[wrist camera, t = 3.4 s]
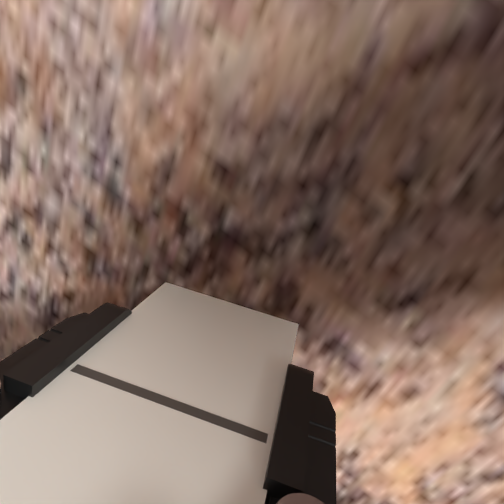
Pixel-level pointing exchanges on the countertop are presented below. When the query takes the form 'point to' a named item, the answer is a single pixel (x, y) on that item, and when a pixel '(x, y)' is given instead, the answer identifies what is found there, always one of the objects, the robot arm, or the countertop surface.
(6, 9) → the countertop surface
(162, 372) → the domino
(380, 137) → the countertop surface
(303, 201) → the countertop surface
